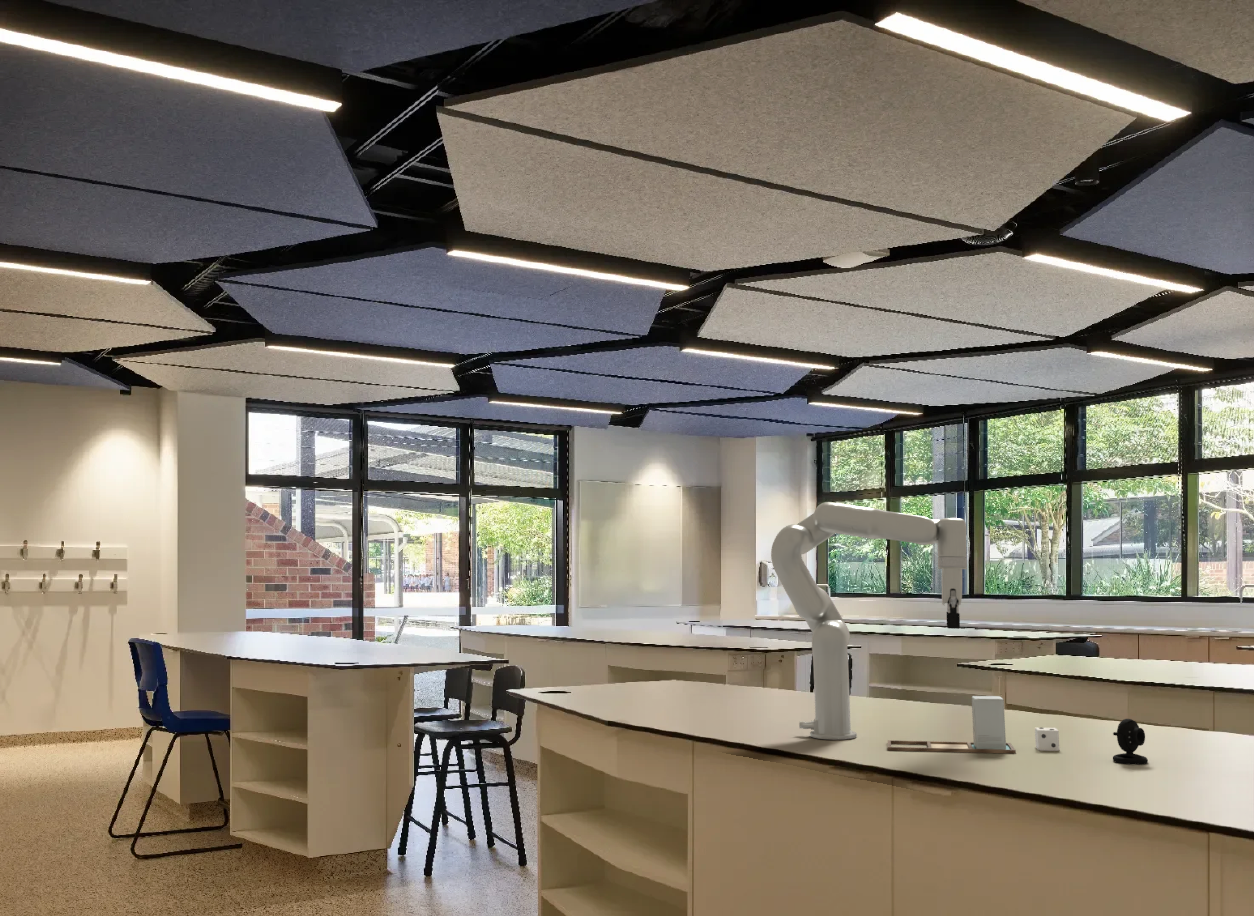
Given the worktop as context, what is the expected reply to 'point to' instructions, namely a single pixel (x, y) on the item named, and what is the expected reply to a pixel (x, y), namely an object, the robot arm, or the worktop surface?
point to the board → (947, 747)
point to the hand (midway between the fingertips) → (953, 627)
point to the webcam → (1129, 742)
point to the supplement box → (988, 722)
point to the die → (1047, 739)
